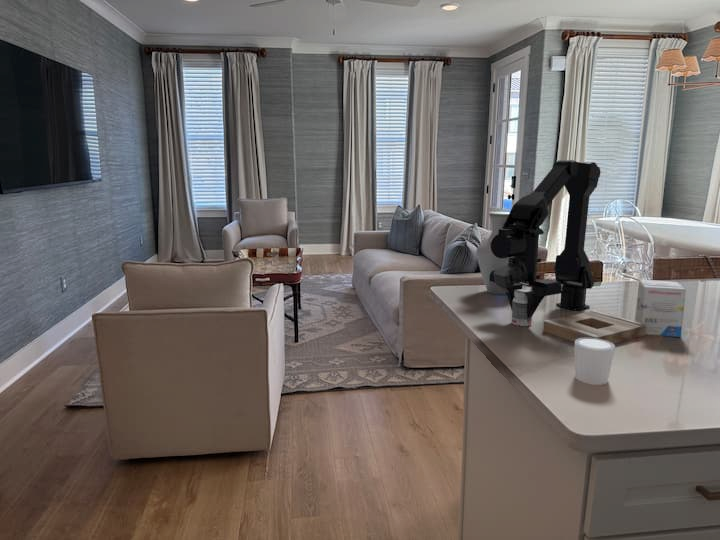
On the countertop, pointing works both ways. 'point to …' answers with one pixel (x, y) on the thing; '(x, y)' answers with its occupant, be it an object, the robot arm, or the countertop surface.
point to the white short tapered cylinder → (593, 360)
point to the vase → (486, 256)
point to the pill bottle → (520, 309)
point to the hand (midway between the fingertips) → (521, 315)
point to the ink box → (660, 307)
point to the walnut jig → (595, 327)
